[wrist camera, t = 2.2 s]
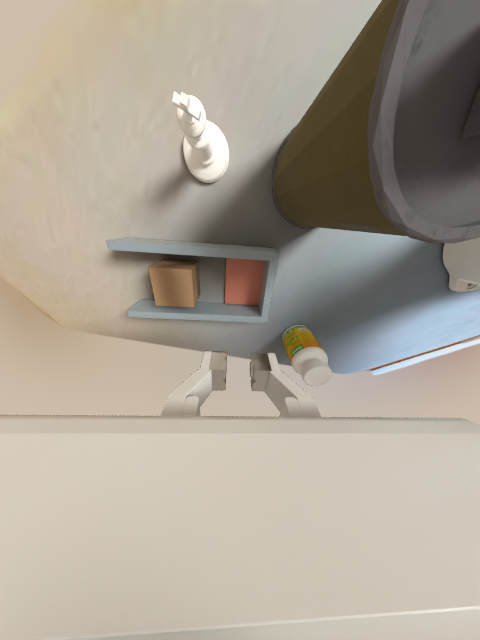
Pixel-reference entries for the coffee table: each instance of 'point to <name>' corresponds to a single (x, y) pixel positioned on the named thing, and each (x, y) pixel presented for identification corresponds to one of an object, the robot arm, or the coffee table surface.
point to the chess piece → (201, 140)
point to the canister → (393, 130)
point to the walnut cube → (175, 282)
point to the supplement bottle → (306, 355)
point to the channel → (241, 280)
